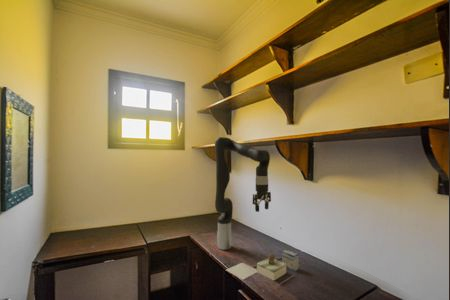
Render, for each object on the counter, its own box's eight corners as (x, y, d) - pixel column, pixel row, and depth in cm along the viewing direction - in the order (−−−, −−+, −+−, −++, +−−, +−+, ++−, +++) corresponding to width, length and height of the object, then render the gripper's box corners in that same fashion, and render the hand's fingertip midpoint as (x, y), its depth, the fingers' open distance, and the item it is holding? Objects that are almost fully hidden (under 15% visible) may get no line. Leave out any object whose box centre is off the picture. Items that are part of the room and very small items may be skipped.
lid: (256, 264, 124) (256, 254, 124) (269, 258, 132) (269, 248, 132) (273, 272, 116) (273, 261, 116) (286, 265, 123) (286, 255, 123)
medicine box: (281, 266, 131) (281, 251, 131) (286, 264, 134) (286, 249, 135) (294, 271, 126) (294, 255, 126) (298, 269, 129) (298, 253, 129)
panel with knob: (225, 270, 127) (225, 269, 127) (242, 263, 135) (242, 262, 135) (242, 280, 117) (242, 279, 117) (259, 272, 126) (259, 270, 126)
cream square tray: (256, 273, 124) (256, 264, 124) (269, 266, 132) (269, 258, 132) (273, 281, 116) (273, 272, 116) (286, 274, 123) (286, 265, 123)
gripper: (264, 181, 147) (264, 207, 147) (249, 183, 137) (249, 211, 137) (274, 182, 141) (274, 209, 141) (258, 185, 132) (259, 213, 132)
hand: (262, 210), depth 139 cm, fingers open, 8 cm apart
